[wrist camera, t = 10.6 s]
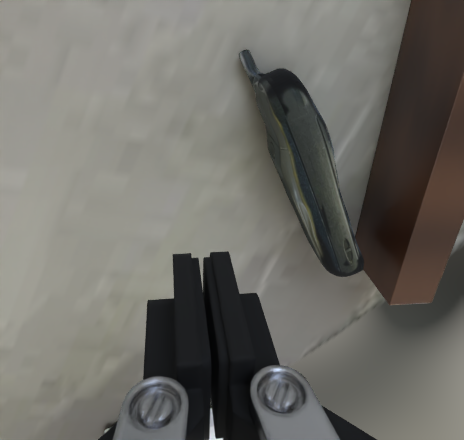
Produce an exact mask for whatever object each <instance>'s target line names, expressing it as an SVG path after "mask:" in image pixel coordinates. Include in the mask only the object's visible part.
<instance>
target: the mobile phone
mask: <svg viewBox="0 0 464 440" xmlns="http://www.w3.org/2000/svg"><path fill="white" fill-rule="evenodd" d="M239 57H240V60H241V62H242V64H243V67H244V69H245V71H246V73H247V75H248V77H249V79H250V81H251V84H252V86H253V88H254V91H255V93H256V102H257V106H258V108H259V111H260V113H261V116H262V118H263V120H264V123H265V126H266V131H267V142H268V149H269V153H270V155H271V158H272V160H273V162H274V165H275V167H276V169H277V172H278V174H279V176H280V178H281V181H282V183H283V186H284V188H285V190H286V193H287V195H288V197H289V199H290V202H291V204H292V206H293V208H294V210H295V212H296V215H297V217H298V219H299V221H300V224H301V226H302V228H303V230H304V233H305V235H306V237H307V239H308V241H309V243H310V245H311V246H312V248H313V250H314V252H315V253H316V255H317V257H318V258H319V260H320V262H321V263H322V265H323V266H324V267H325V269H326V270H327V271H329V272H330V273H332V274H334V275H336V276H340V277H347V276H351V275H353V274H356V273H358V272H360V271H362V270H363V267H364V259H363V256H362V254H361V252H360V249H359V247H358V244H357V242H356V239H355V236H354V233H353V230H352V227H351V224H350V220H349V217H348V214H347V211H346V208H345V205H344V202H343V199H342V196H341V193H340V189H339V183H338V177H337V171H336V165H335V156H334V150H333V146H332V142H331V138H330V135H329V132H328V129H327V127H326V125H325V122H324V120H323V119H322V117H321V115H320V113H319V112H318V110H317V108H316V106H315V104H314V103H313V101H312V99H311V97H310V95H309V93H308V91H307V90H306V88H305V87H304V85H303V84H302V82H301V81H300V80H299V79H298V77H297V76H296V75H295V74H293V73H292V72H291V71H288V70H286V69H276V70H274V71H272V72H270V73H267V74H262V73H260V72H259V70H258V69H257V67H256V65H255V63H254V60H253V58H252V56H251V53H250V51H249V50H243V51H241V52H240V53H239Z"/></svg>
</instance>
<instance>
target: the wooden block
mask: <svg viewBox="0 0 464 440" xmlns="http://www.w3.org/2000/svg"><path fill="white" fill-rule="evenodd" d="M463 220H464V0H412V1H411V6H410V10H409V14H408V18H407V22H406V27H405V31H404V35H403V39H402V44H401V48H400V52H399V56H398V60H397V65H396V69H395V73H394V77H393V81H392V86H391V90H390V94H389V98H388V103H387V107H386V111H385V115H384V119H383V124H382V128H381V132H380V136H379V140H378V145H377V149H376V153H375V157H374V162H373V166H372V170H371V174H370V178H369V183H368V187H367V191H366V195H365V199H364V204H363V208H362V212H361V216H360V221H359V225H358V229H357V233H356V237H355V239H356V242H357V244H358V247H359V249H360V252H361V254H362V256H363V259H364V267H363V270H364V271H365V272H366V274H367V275H368V277H369V278H370V279H371V281H372V282H373V283H374V285H375V286H376V287H377V289H378V290H379V292H380V293H381V294H382V296H383V297H384V298H385V300H386V301H387V302H388V304H389V305H401V304H417V303H431V302H432V300H433V298H434V295H435V292H436V290H437V287H438V285H439V282H440V279H441V277H442V274H443V272H444V269H445V266H446V264H447V261H448V259H449V256H450V254H451V251H452V248H453V246H454V243H455V241H456V238H457V235H458V233H459V230H460V228H461V225H462V223H463Z"/></svg>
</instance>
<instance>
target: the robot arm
mask: <svg viewBox="0 0 464 440" xmlns="http://www.w3.org/2000/svg"><path fill="white" fill-rule="evenodd" d="M173 275H174V299H159V300H148V303H147V320H146V339H145V358H144V376H143V380H142V381H140V382H139V383H138V384H136V385H135V386H133V387H132V388H131V390H130V391H129V392H128V393H127V394H126V397H125V399H124V401H123V403H122V407H121V411H120V414H119V418H118V421H117V422H116V423H115V424H114V425H113V426H112V427H111V428H110V429H109V430H108V431H107V432H106V433H105V434H104V435H103V436H101V437H100V438H99V439H98V440H209V436H210V402H211V405H212V413H213V422H214V431H215V438H216V439H219V438H223V440H376V439H375V438H373V437H372V436H370V435H368V434H367V433H365V432H364V431H362V430H360V429H359V428H357V427H356V426H354V425H352V424H351V423H349V422H347V421H346V420H344V419H343V418H341V417H339V416H338V415H336V414H335V413H333V412H331V411H329V410H328V409H326V408H325V407H323V406H322V405H321V404H320V402H319V400H318V398H317V397H316V395H315V393H314V391H313V389H312V388H311V386H310V384H309V382H308V381H307V380H306V378H305V377H304V376H303V375H302V374H300V373H299V372H298V371H296V370H294V369H292V368H290V367H288V366H282V365H280V364H279V361H278V358H277V355H276V351H275V348H274V345H273V342H272V338H271V335H270V332H269V329H268V326H267V322H266V319H265V316H264V313H263V310H262V306H261V303H260V300H259V297H258V295H257V294H256V293H249V294H239V290H238V286H237V282H236V278H235V274H234V270H233V266H232V262H231V258H230V254H229V252H211V253H210V257H205V258H204V260H203V290H202V283H201V275H200V267H199V260H198V258H191V253H189V254H173Z"/></svg>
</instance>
